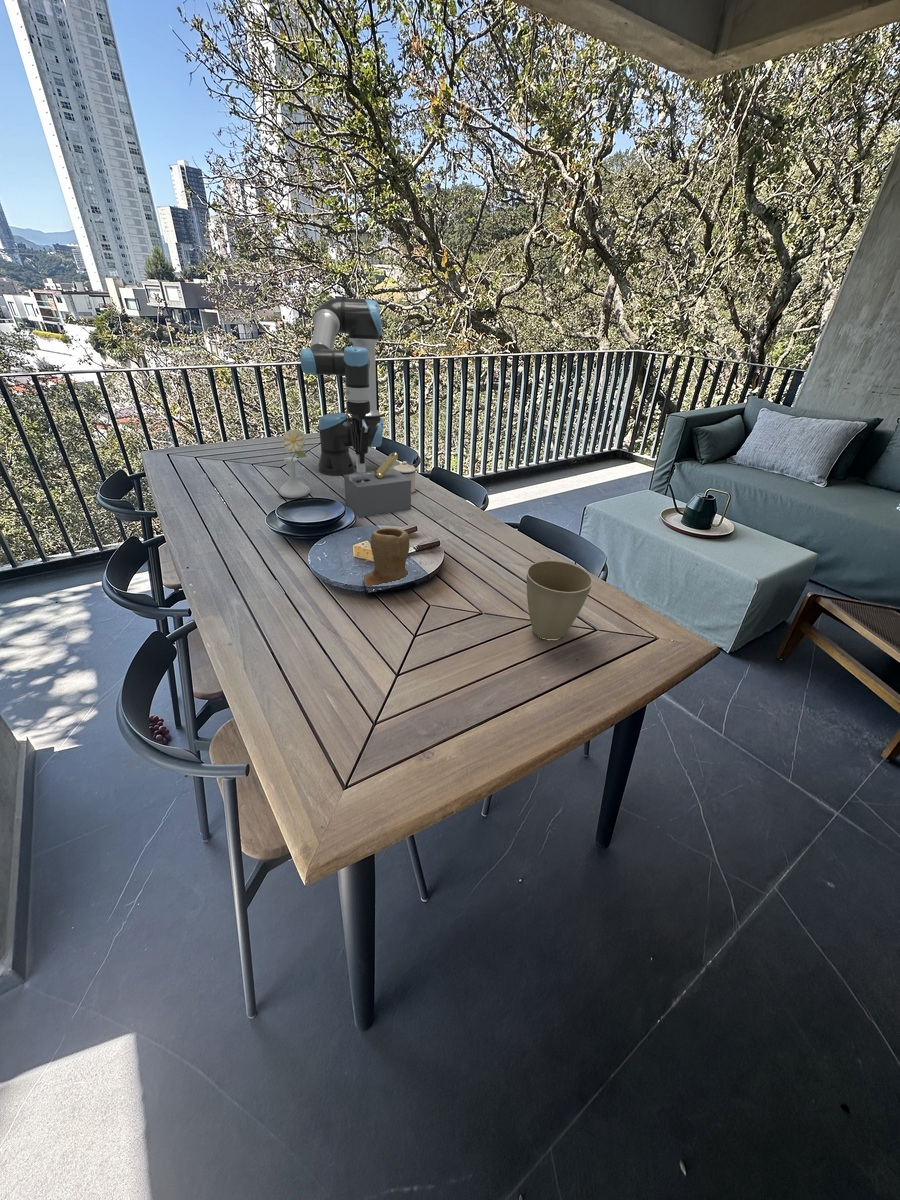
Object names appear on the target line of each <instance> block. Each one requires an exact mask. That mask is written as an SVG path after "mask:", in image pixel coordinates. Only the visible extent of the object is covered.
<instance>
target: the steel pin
mask: <svg viewBox="0 0 900 1200" xmlns="http://www.w3.org/2000/svg"><path fill="white" fill-rule="evenodd" d="M367 472H368V473H364V472H362V473H360V474H356V473H351V474H352V475H349V480H350V481H351V482H356V481H357V483H359V482H366V480H371V479H373V474H372V473H370V472H371V471H367Z"/></svg>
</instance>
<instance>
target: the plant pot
mask: <svg viewBox="0 0 900 1200" xmlns="http://www.w3.org/2000/svg"><path fill="white" fill-rule="evenodd" d="M593 584H594V580H593V577H592V575H591V574H590V573H589V572H588V571H586V570H585V569H584V568H582V567H580V566H578V565H575V564H573V563H569V562H565V561H560V560H559V561H558V560H541V561H536V562H534V563H532V564H531V565H529V566H528V567H527V570H526V597H527V600H526V601H527V607H528V615H529V620H530V625H531V629H532V633H533V634H534V633H535V634H536V635H537V636H539V637H541V638H545V639H558V638H561V637H562V638H563V637H564V636H565V634H567V632H568V631H569V629H570V628H571V626H572V625H573V623H574V622H575V621H576V618H577V617H578V615H579V613H580V612H581V610H582V608H583V607H584V604H585V602H586V600H587V598H588V596H589V594H590V591H591V589H592V586H593ZM535 634H534V635H535ZM536 635H535V636H536ZM537 636H536V637H537ZM539 637H538V638H539ZM541 638H540V639H541ZM562 638H561V639H562Z"/></svg>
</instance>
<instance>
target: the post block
mask: <svg viewBox="0 0 900 1200" xmlns="http://www.w3.org/2000/svg"><path fill="white" fill-rule="evenodd" d="M375 471H376V470H375ZM375 471H373V470H372V471H366V472H363V473H368V472H370V473H372V474H373V479H371V480H366V482H359V483H357V481H356V482H351V481H350V480H349V475H352V474H353V473H349V474H345V475H343V484H344V499H345V505H346V506H347V507H348V508H349V507H350V508H351V509H352V510H353V511H354V512H355V513H356V514H357V515H358V516H359V517H360V518H366V517H371V516H370V515H373V516H377V515H376V514H379V515H383V514H382V513H385V514H389V513H391V514H392V513H397V512H401V511H409V510H412V509H411V508H412V493H411V480H410V479H409V478H407V477H406V476H404V475H403V474H401V473H400V472H398V471H397V470H396V469H393V468H390V469H389V470H388V471H387V472H386V473H385V475H384V476H383V478H382V479H380V478H378V477H377V476H376V475H374V472H375ZM355 474H360V473H358V472H356V473H355ZM350 508H349V509H350ZM351 509H350V510H351ZM352 510H351V511H352ZM353 511H352V512H353ZM354 512H353V513H354ZM355 513H354V514H355ZM356 514H355V515H356ZM357 515H356V516H357ZM358 516H357V517H358ZM365 516H366V517H365ZM359 517H358V518H359Z"/></svg>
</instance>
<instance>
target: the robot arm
mask: <svg viewBox="0 0 900 1200" xmlns="http://www.w3.org/2000/svg"><path fill="white" fill-rule="evenodd" d="M380 312H381V311H380V306H379V302H378V301H376V300H373V299H367V298H365V299H364V298H343V297H334V298H332V299H329V300H326V301H325V302H323V303H322V304H321V305H319V307H317V309H316V310H315V312H314V315H313V326H314V329H313V332H312V337H311V341H310V342H311V343H310V346H309V347H308V348H302V349H301V350H300V354H299V355H300V356H299V357H300V360H299V361H300V367H301V371H302V372H303V374H305V375H306V374H307V375H314V376H316V375H317V376H318V375H319V376H321V375H323V376H330V375H331V376H344V377H345V378H344V379H345V390H344V393H345V395H346V399H347V401H346V412H347V413H348V414H349V415H351V417H348V414H347V413H345V412H332V413H331V412H330V413H327V414H324V415H322V416H321V417H319V419H318V430H319V439H320V440H319V441H320V442H319V443H320V457H319V461H318V465H317V466H318V468H317V469H318V472H319V473H320V474H323V475H328V476H344V475H348V474H353V472H354V471H355V467H354V466H356V473H364V472H367V471H366V454H368V452H369V448H379V447H381V445H382V443H383V435H384V434H383V432H384V424H385V419H384V418H383V417H381V413H380V412H379V410H378V409H377V406H378V405H377V373H376V372H377V367H376V365H377V364H376V344H377V343H379V340H380V336H382V335H383V327H382V326H383V325H382V319H381V313H380ZM337 334H348V339H349V341H350V342H351V343H352V346H346V347H344V350H341V349H339V350H338V349H334V347H335V341H336V335H337ZM349 447H352V448H353V450H354V451H355V460H356V461H355V462H356V465H354V462H353V460H352V457H351V454H350V448H349Z"/></svg>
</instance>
